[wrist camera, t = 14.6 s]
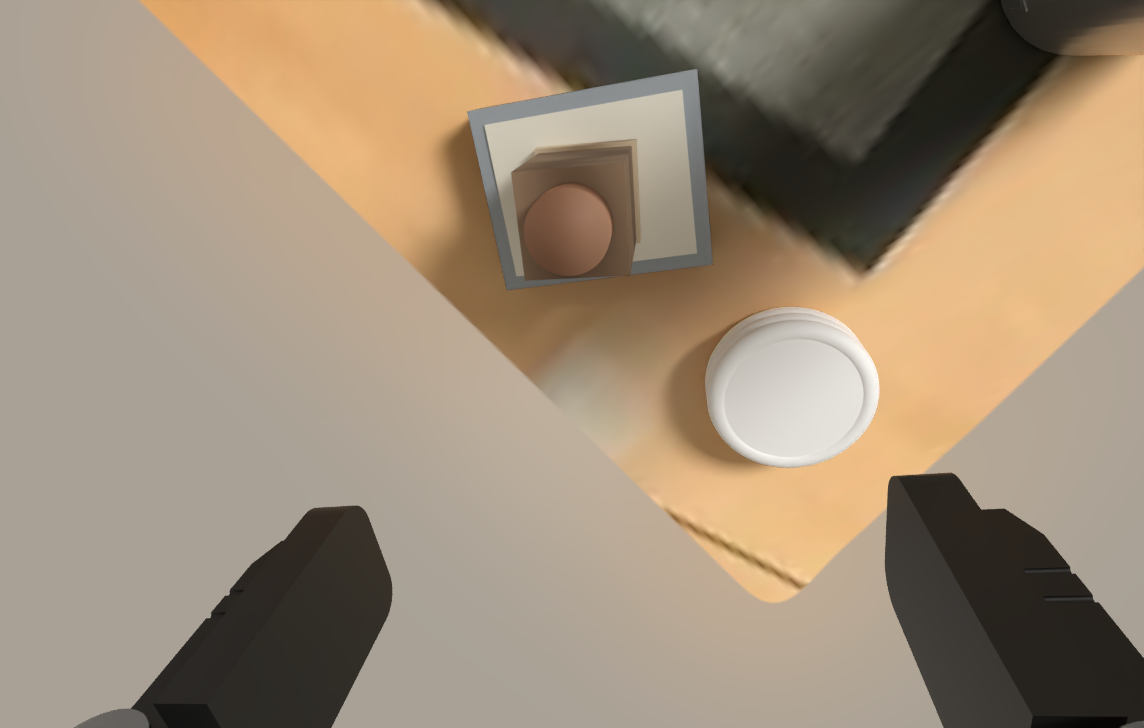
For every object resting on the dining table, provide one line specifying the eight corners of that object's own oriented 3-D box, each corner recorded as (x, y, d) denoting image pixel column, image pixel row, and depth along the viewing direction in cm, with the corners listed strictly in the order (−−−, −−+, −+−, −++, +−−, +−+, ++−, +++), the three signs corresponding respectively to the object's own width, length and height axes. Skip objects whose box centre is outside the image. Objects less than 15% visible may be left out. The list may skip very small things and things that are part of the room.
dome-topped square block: (636, 138, 33) (626, 163, 24) (641, 237, 35) (633, 291, 26) (538, 146, 33) (496, 173, 25) (549, 243, 36) (513, 296, 27)
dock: (694, 69, 34) (697, 69, 31) (709, 250, 38) (713, 265, 35) (482, 108, 36) (466, 111, 33) (517, 275, 40) (506, 291, 37)
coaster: (673, 389, 42) (674, 415, 39) (774, 272, 38) (784, 290, 35) (790, 466, 43) (800, 498, 40) (900, 362, 39) (920, 387, 36)
